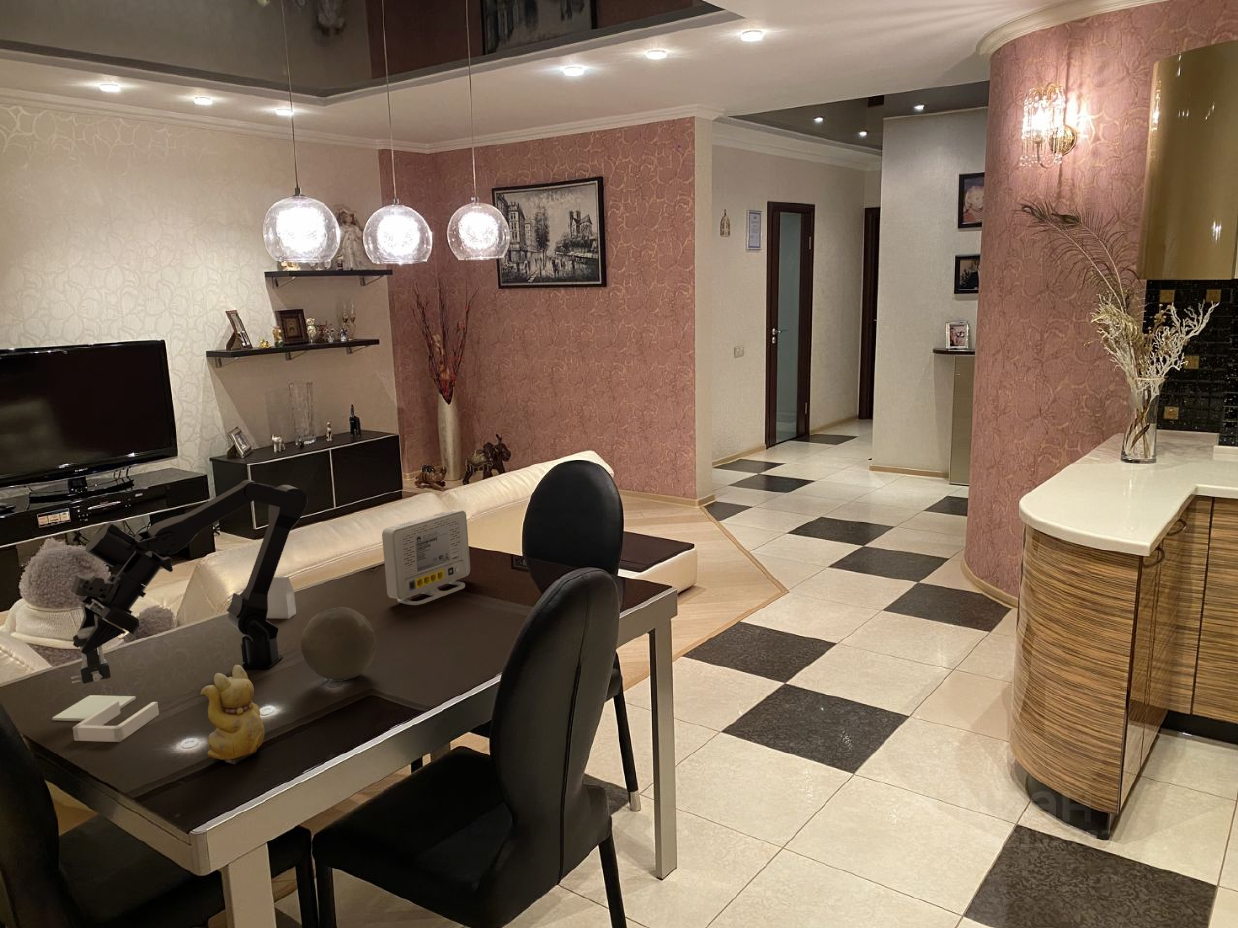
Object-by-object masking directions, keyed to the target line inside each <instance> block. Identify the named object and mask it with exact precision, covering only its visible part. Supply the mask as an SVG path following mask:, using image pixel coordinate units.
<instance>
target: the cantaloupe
mask: <svg viewBox="0 0 1238 928" xmlns="http://www.w3.org/2000/svg"><path fill="white" fill-rule="evenodd" d="M300 649H301V653H302V656H303V658H304V661H305V662H306V665H307V666H308V667H309V668H310V669H311V670H312V671H314V672H315V673H316V674H317V675H319V676H320V677H322V678H324V679H328V680H332V681H334V682H341V681H346V680H351V679H353V678H356V677H358V676H359V675H361V674H362V673H364V672H365V670H366V669H368V668H369V667H370V665H371V664H372V662H373V660H374V658H375V655H376V651H377V637H376V634H375V630H374V627H373V626H372V624H371V623H370V621H369V620H368V619H367V617H365V616H364V615H363V614H361V613H360V612H358V611H357V610H355V609H354V608H350V607H346V606H345V607H344V606H337V607H333V608H328V609H325V610H322V611H320V612H318V613H317V614H314V616H313V617H312V618H310V620H309V621H308V623H307V625H306V627H305V628H304V629H303V631H302V634H301V639H300Z"/></svg>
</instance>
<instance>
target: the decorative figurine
mask: <svg viewBox="0 0 1238 928" xmlns="http://www.w3.org/2000/svg"><path fill="white" fill-rule="evenodd" d="M231 673H232V676H229V677H228V676H227V675H225V674H223V673H222V672H221V673H220V672H216V673H215V674H214V677H213V682H214V684H209V685H205V686H203V688H202V689H201V691H200V696H202V697H203V696H206V697H207V699H208V707H207V716H208V720H209V721H210V723H211V724H212V725H213V726H214V727H215V730H214V731H212V732H211V733H210V734H209V735H208V738H207V746H208V747H209V750H208V751H207V756H208V757H210V758H213V759H216V760H221V761H225V763H228V764H232V765H236V764H238V763H239V762H241V761H243V760H244V759H246V758H248V757H249V756H251V755H253V754H255V753H257V751H258V749H259V748H260V747H261V746H262V744H263V742H264V739H265V731H266V730H265V726H264V722H263V719H262V717H261V710H260V707H259V705H258V704H257V703H254V702H253V701H252V699H253V696H254V693H255V689H254V685H253V683H252V682H251V680H250V679H249V677H248V673H247V671H245V668H242V666H241V665H240V664H235V665H234V666H233V668H232V671H231Z"/></svg>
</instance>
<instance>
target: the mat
mask: <svg viewBox="0 0 1238 928" xmlns="http://www.w3.org/2000/svg"><path fill="white" fill-rule="evenodd" d="M136 697H137V696H136V695H134V696H133V695H132V696H131V695H93V694H92V695H91V694H90V695H88V696H86V697H85V698H83V699H80V700H79V701H77V702H76V703H74V704H73V705H71V706H69V707H68V708H66V709H64V710H63V711H61V712H60V713H57V714H56V715H54V716H53V717H52V721H60V722H61V721H70V722H71V721H72V722H82V721H83V720H85V719H87V718H88V717H90V716H91V715H93V714H94V713H96V712H98V711H99V710H101V709H102V708H104V707H105V706H107V705H109V704H110V703H112V702H113V701H119V706H120V710H121V709H122V708H124V707H126V706H127V705H128V704H130V703H131V702H133V701H134V700H136V699H137V698H136Z"/></svg>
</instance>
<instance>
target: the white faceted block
mask: <svg viewBox="0 0 1238 928" xmlns="http://www.w3.org/2000/svg"><path fill="white" fill-rule="evenodd" d="M296 614H297V607H296V598H295V590H294V588H293V586H292V583H291V581H290V577H289V576H274V578H273V580H272V583H271V586H270V589H269V592H268V613H267V619H291V618H292V617H293V616H294V615H296Z"/></svg>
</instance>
